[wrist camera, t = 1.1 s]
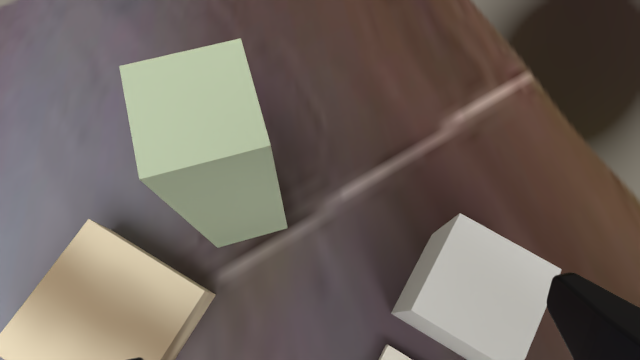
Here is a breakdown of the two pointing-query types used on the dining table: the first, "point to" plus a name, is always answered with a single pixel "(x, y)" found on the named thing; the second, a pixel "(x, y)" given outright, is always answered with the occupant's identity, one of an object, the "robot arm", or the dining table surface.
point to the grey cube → (476, 292)
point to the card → (392, 354)
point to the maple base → (105, 305)
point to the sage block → (205, 141)
